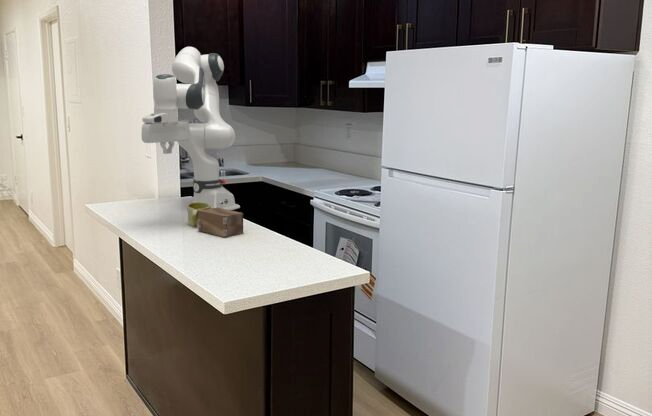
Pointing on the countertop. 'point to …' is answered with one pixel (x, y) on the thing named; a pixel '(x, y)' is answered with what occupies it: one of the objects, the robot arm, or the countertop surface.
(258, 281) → the countertop surface
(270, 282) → the countertop surface
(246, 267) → the countertop surface
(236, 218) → the cabinet
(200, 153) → the robot arm
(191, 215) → the mug
